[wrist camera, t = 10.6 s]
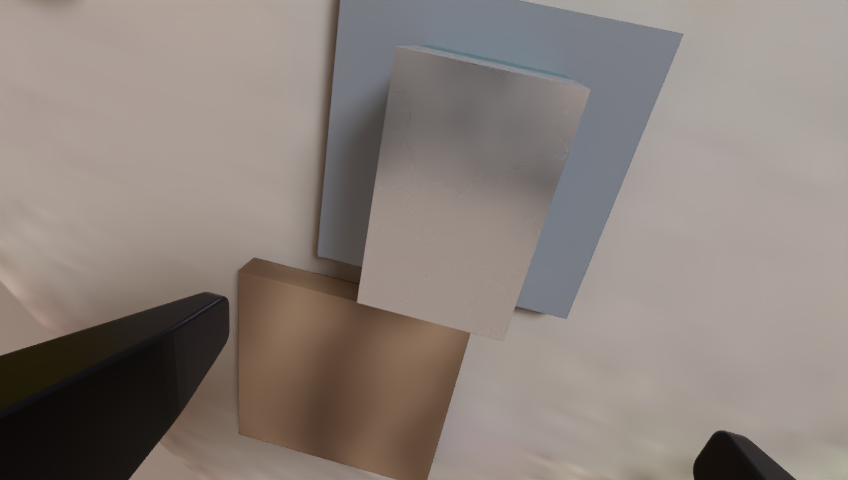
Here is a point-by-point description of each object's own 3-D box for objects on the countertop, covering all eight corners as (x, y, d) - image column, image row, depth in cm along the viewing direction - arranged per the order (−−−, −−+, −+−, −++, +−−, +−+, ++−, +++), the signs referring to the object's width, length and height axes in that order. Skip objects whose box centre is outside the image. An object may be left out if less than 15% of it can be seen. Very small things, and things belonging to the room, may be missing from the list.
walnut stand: (472, 313, 22) (471, 331, 21) (428, 465, 28) (424, 487, 26) (253, 257, 23) (238, 270, 22) (251, 415, 28) (238, 434, 27)
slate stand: (668, 34, 16) (683, 33, 15) (562, 301, 21) (566, 319, 20) (356, -30, 17) (343, -36, 15) (328, 242, 22) (317, 255, 21)
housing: (503, 263, 19) (503, 341, 14) (394, 235, 20) (356, 302, 14) (563, 74, 16) (590, 89, 11) (429, 44, 16) (395, 46, 11)
